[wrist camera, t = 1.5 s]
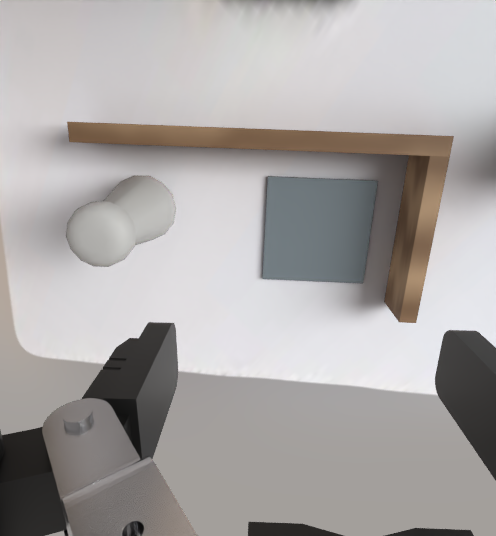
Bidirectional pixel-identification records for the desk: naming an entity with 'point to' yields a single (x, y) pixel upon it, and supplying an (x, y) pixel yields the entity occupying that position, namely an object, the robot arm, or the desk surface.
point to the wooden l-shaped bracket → (416, 146)
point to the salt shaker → (121, 221)
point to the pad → (317, 228)
